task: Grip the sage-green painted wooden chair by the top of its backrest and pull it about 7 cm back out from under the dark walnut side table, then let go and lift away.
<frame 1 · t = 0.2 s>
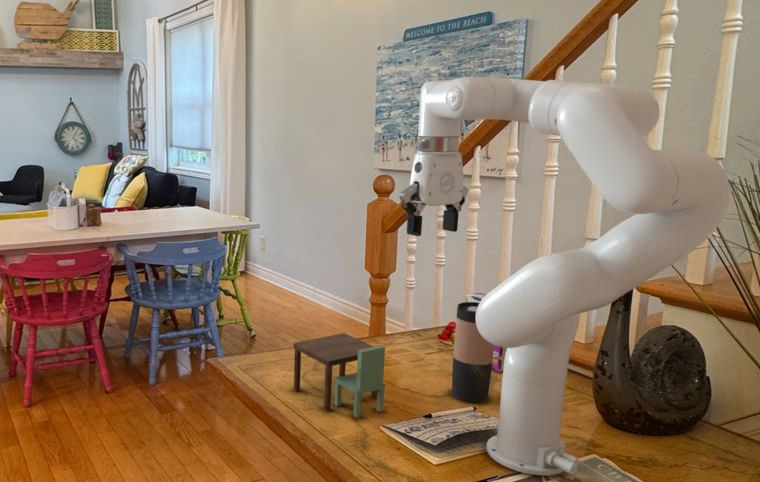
hand: (432, 232, 126), 37 cm above the table, tool pointing down, fingers open, 9 cm apart
candy bar box: (486, 364, 155), on the table
travel mug: (469, 396, 137), on the table
side table: (335, 393, 139), on the table
chair: (358, 407, 132), on the table
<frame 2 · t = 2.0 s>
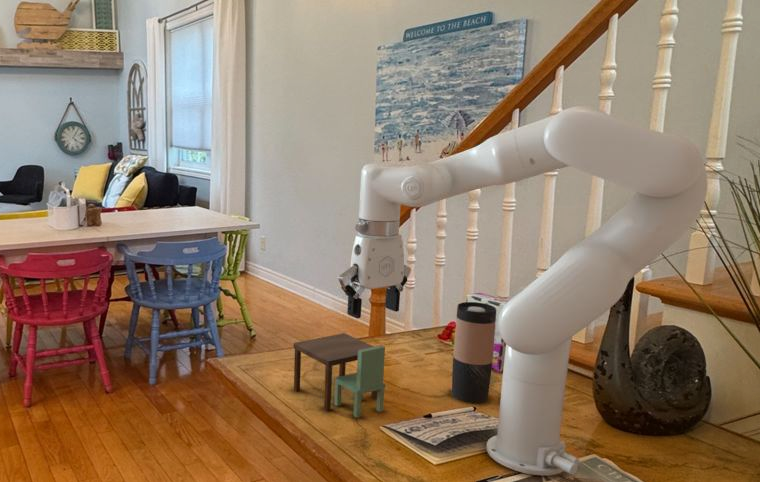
hand: (373, 313, 125), 21 cm above the table, tool pointing down, fingers open, 9 cm apart
nothing on the table moved.
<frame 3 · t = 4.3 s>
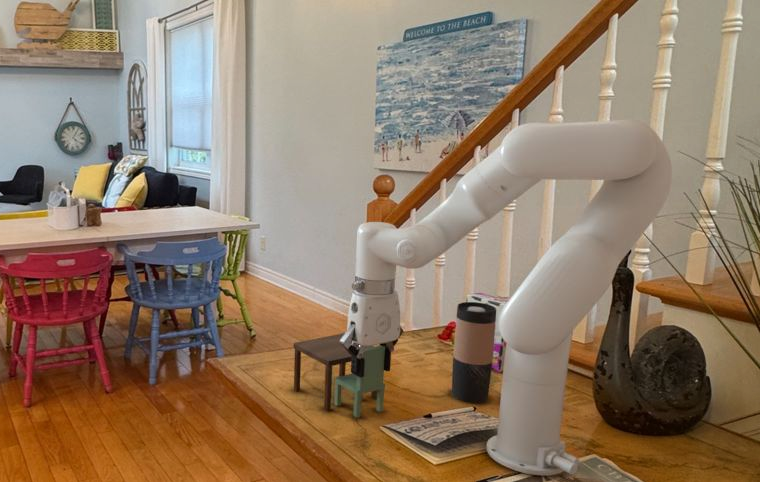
hand: (370, 371, 128), 9 cm above the table, tool pointing down, fingers closed on chair, 6 cm apart
chair: (358, 407, 132), on the table, touching gripper
everything else where it was.
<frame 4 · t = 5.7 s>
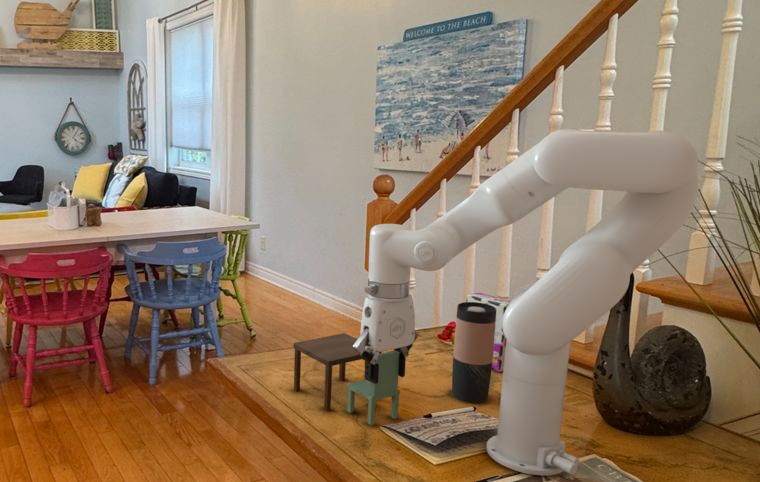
hand: (384, 377, 124), 9 cm above the table, tool pointing down, fingers closed on chair, 6 cm apart
chair: (372, 414, 129), on the table, touching gripper
everything else where it was.
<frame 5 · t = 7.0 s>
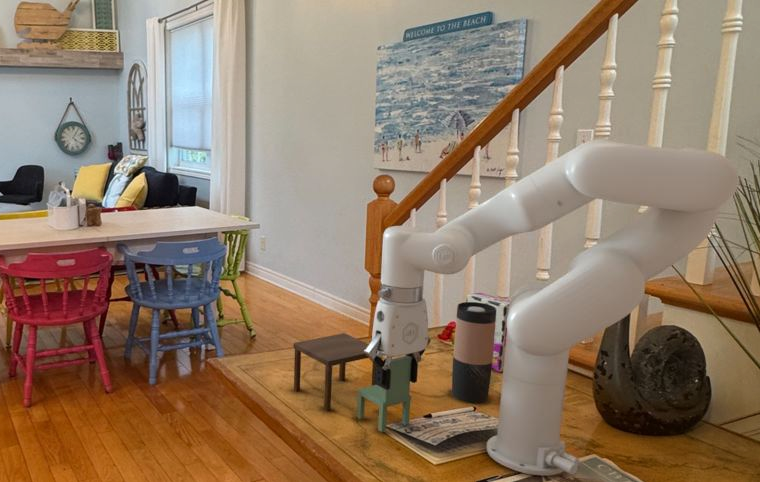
hand: (396, 382, 121), 9 cm above the table, tool pointing down, fingers closed on chair, 6 cm apart
chair: (382, 420, 126), on the table, touching gripper
everything else where it was.
when the fingers open (9 cm above the table, at t = 7.6 s): chair stays where it is, on the table.
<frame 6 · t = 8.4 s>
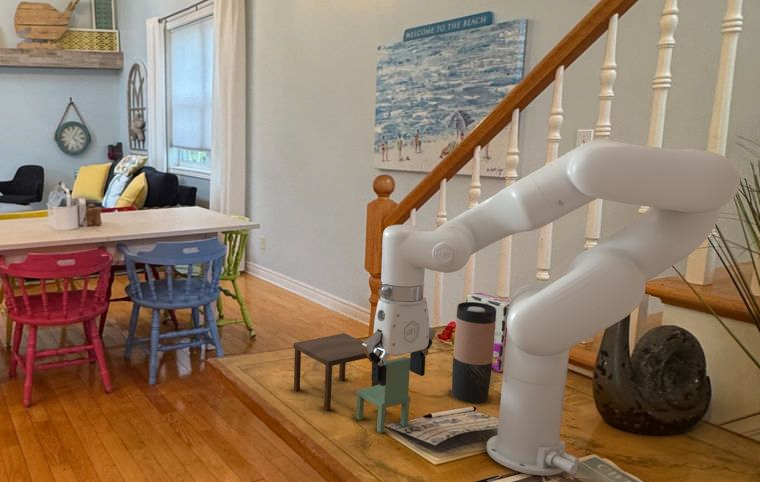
hand: (398, 378, 121), 10 cm above the table, tool pointing down, fingers open, 9 cm apart
chair: (381, 421, 126), on the table
everything else where it was.
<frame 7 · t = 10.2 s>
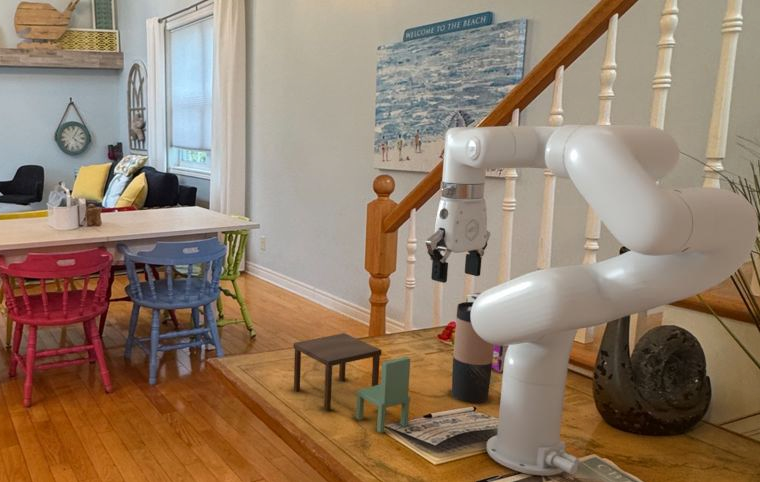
hand: (455, 277, 126), 28 cm above the table, tool pointing down, fingers open, 9 cm apart
nothing on the table moved.
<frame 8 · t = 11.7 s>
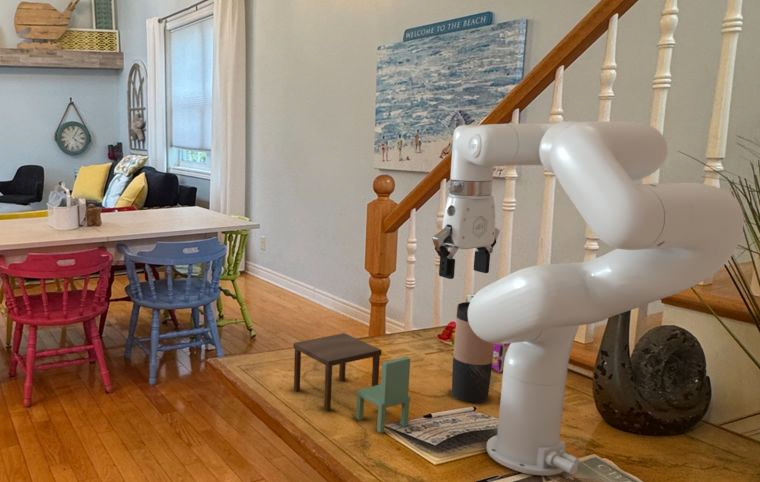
hand: (463, 274, 127), 28 cm above the table, tool pointing down, fingers open, 9 cm apart
nothing on the table moved.
at the end: chair moved 6.8 cm from its start; chair inside the target area (1.2 cm from its centre), on the table; chair tilted 0° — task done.
